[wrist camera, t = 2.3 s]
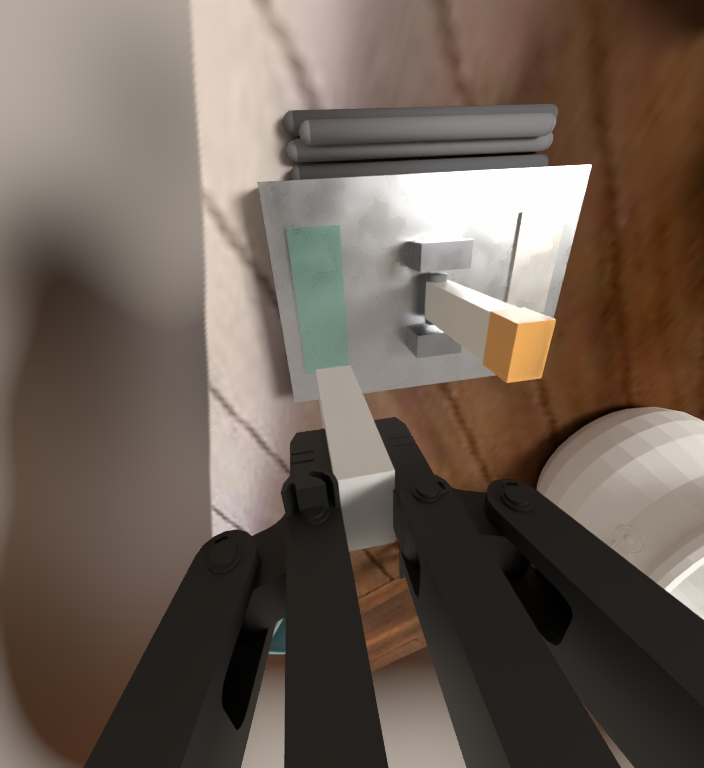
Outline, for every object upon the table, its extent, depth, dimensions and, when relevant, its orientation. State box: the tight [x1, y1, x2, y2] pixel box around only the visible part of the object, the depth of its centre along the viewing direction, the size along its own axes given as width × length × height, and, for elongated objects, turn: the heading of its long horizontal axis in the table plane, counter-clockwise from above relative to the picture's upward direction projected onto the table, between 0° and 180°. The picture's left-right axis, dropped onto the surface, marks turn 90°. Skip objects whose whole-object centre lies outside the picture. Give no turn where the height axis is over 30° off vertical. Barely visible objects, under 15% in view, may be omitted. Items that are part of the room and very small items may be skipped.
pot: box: [536, 407, 704, 620], centre depth 40 cm, size 26×24×18 cm
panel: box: [257, 165, 592, 403], centre depth 28 cm, size 18×26×6 cm
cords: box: [283, 104, 558, 180], centre depth 24 cm, size 5×21×3 cm, turn 93°
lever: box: [425, 272, 556, 383], centre depth 22 cm, size 4×2×13 cm, turn 3°
